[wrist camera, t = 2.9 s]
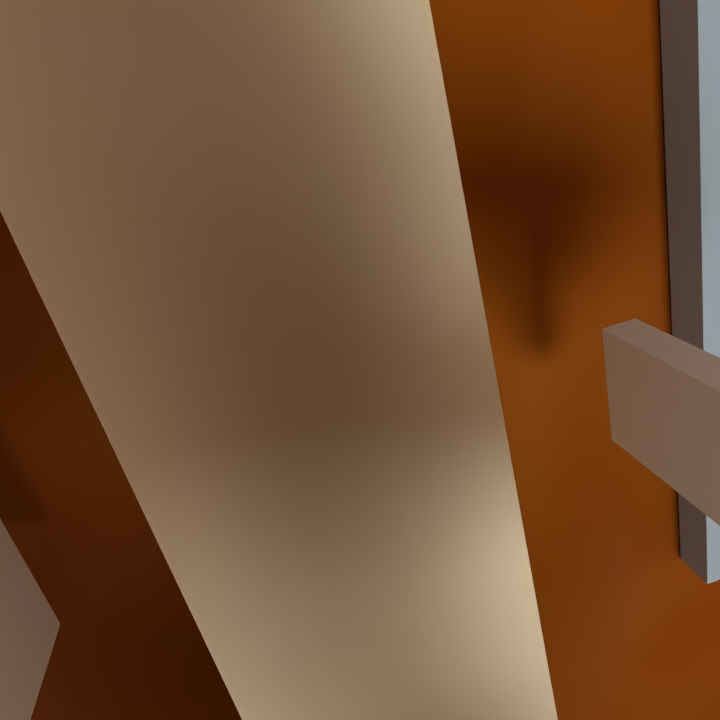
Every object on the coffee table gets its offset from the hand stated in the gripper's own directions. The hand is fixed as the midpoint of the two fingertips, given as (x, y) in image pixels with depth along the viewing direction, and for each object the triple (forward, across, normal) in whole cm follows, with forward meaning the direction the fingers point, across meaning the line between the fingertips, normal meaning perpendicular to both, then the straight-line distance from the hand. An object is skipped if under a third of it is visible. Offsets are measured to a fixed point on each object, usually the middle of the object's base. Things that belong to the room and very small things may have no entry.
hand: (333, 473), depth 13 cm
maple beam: (+3, 0, 0) cm, 3 cm away
